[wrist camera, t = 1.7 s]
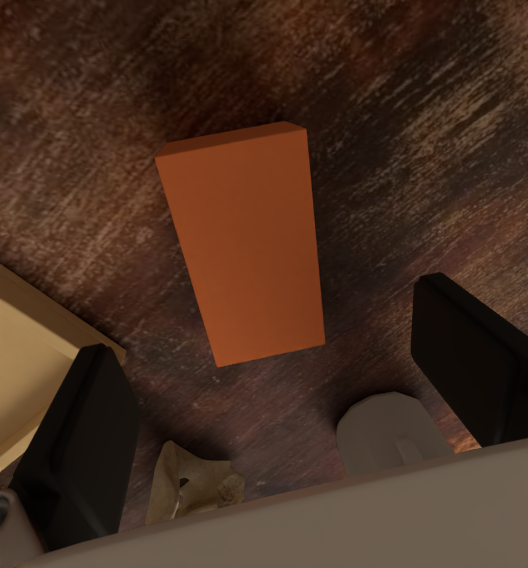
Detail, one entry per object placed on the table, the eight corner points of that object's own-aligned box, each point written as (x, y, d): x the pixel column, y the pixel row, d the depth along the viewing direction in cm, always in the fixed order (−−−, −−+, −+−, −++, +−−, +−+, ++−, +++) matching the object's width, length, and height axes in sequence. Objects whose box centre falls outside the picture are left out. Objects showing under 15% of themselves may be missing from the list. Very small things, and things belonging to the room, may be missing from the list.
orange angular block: (166, 142, 16) (153, 156, 12) (285, 120, 16) (307, 127, 12) (215, 321, 21) (216, 367, 17) (306, 302, 21) (325, 344, 17)
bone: (256, 518, 28) (183, 682, 20) (189, 486, 30) (97, 621, 22) (260, 440, 25) (173, 600, 16) (184, 411, 27) (72, 537, 18)
